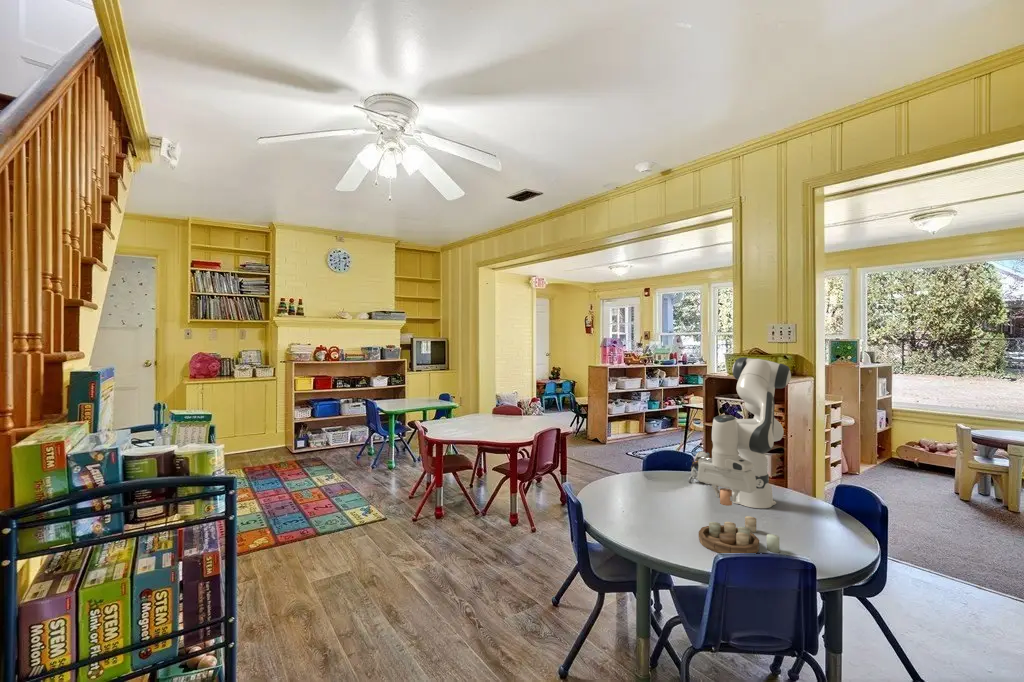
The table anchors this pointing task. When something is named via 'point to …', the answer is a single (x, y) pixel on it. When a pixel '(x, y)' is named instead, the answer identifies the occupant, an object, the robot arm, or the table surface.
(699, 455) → the robotic toy
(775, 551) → the sage green egg
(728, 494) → the orange egg
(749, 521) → the tan egg
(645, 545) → the table surface
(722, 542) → the groove tray
